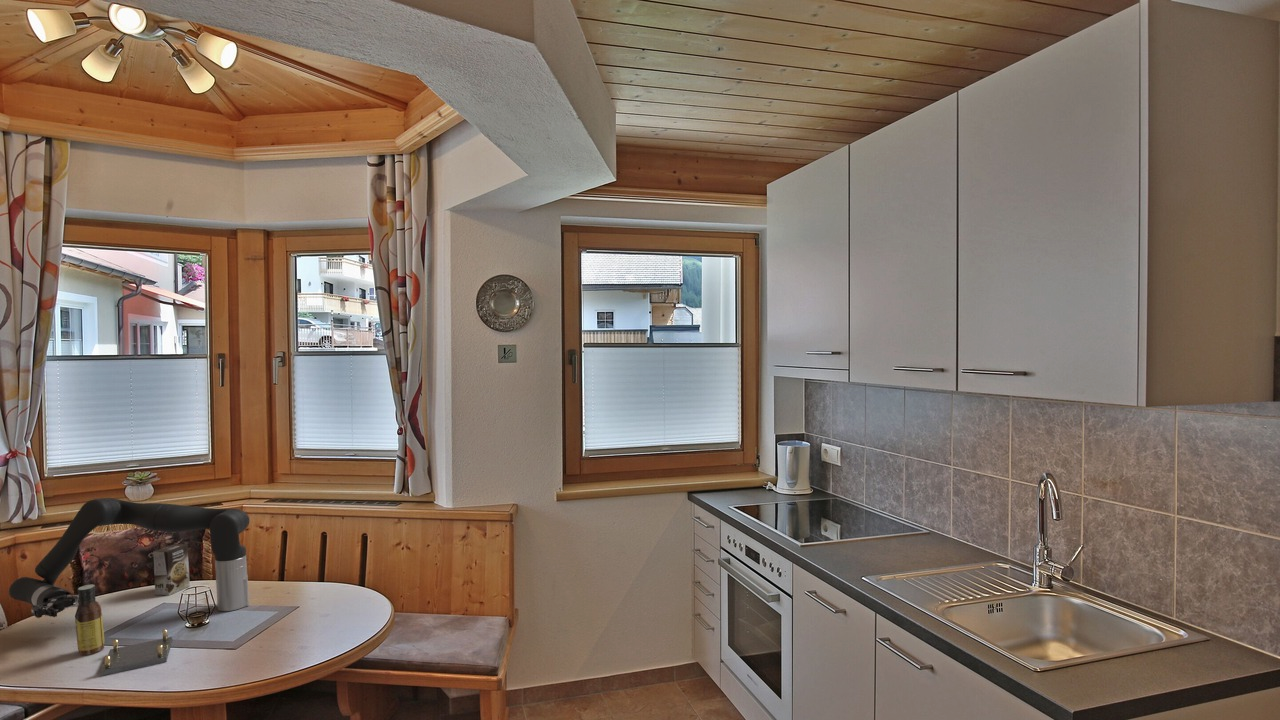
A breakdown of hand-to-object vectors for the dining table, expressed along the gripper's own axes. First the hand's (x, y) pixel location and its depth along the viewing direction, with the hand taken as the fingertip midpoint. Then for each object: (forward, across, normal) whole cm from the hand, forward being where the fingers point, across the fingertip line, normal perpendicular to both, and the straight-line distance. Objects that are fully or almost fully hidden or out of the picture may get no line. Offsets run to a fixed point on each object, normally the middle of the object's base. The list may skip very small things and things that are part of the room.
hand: (73, 608), depth 207 cm
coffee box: (-21, +37, +11) cm, 44 cm away
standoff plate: (+29, +5, +11) cm, 31 cm away
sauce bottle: (+11, 0, +11) cm, 16 cm away
